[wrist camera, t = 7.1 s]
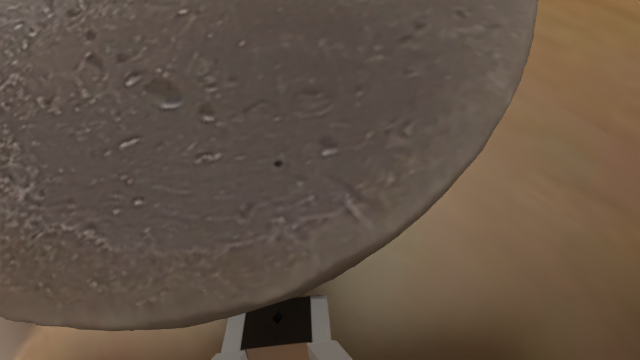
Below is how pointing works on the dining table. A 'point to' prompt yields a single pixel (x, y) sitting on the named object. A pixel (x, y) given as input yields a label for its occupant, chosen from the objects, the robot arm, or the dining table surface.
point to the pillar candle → (230, 145)
